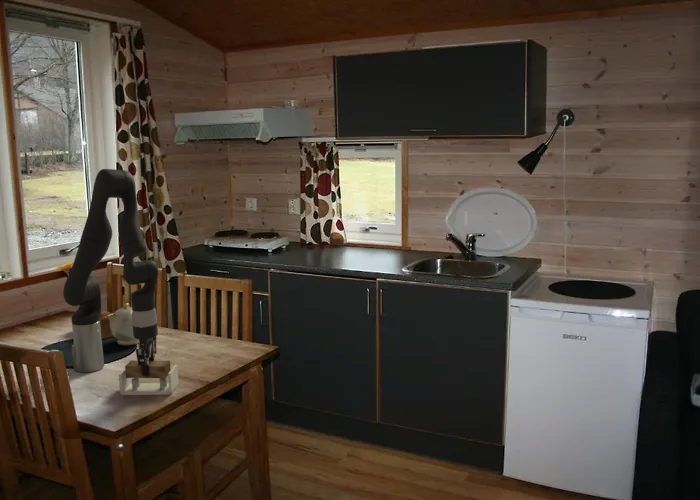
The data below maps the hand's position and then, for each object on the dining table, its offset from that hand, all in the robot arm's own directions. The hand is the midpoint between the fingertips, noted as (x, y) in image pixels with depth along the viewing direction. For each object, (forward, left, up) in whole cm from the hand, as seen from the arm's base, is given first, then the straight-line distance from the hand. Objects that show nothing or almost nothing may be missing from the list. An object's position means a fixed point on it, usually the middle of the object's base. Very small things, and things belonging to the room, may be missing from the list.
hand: (148, 372), depth 207 cm
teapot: (-21, +48, -6) cm, 53 cm away
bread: (-40, +59, -6) cm, 72 cm away
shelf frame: (0, 0, -6) cm, 6 cm away
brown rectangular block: (0, 0, -1) cm, 1 cm away
